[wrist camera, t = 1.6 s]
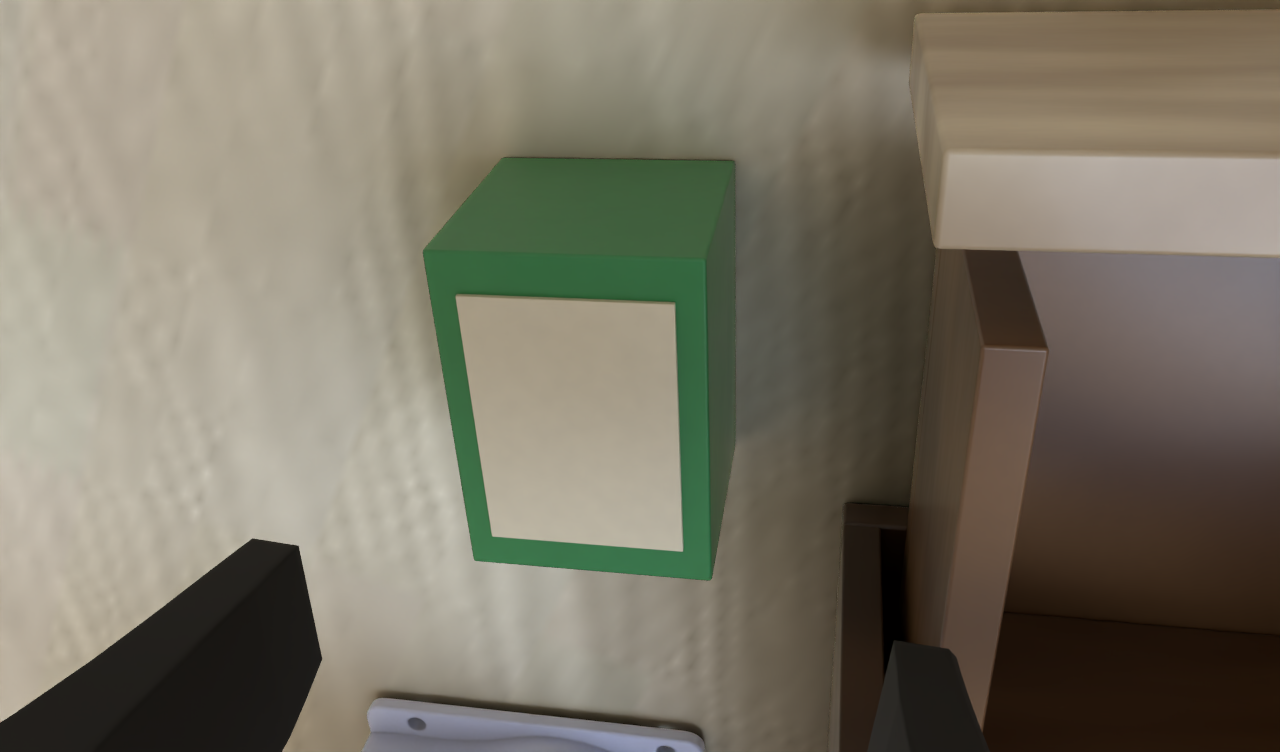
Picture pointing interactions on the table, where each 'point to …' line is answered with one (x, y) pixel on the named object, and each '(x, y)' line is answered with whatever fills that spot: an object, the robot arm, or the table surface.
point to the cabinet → (865, 619)
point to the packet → (592, 361)
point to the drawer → (1101, 376)
